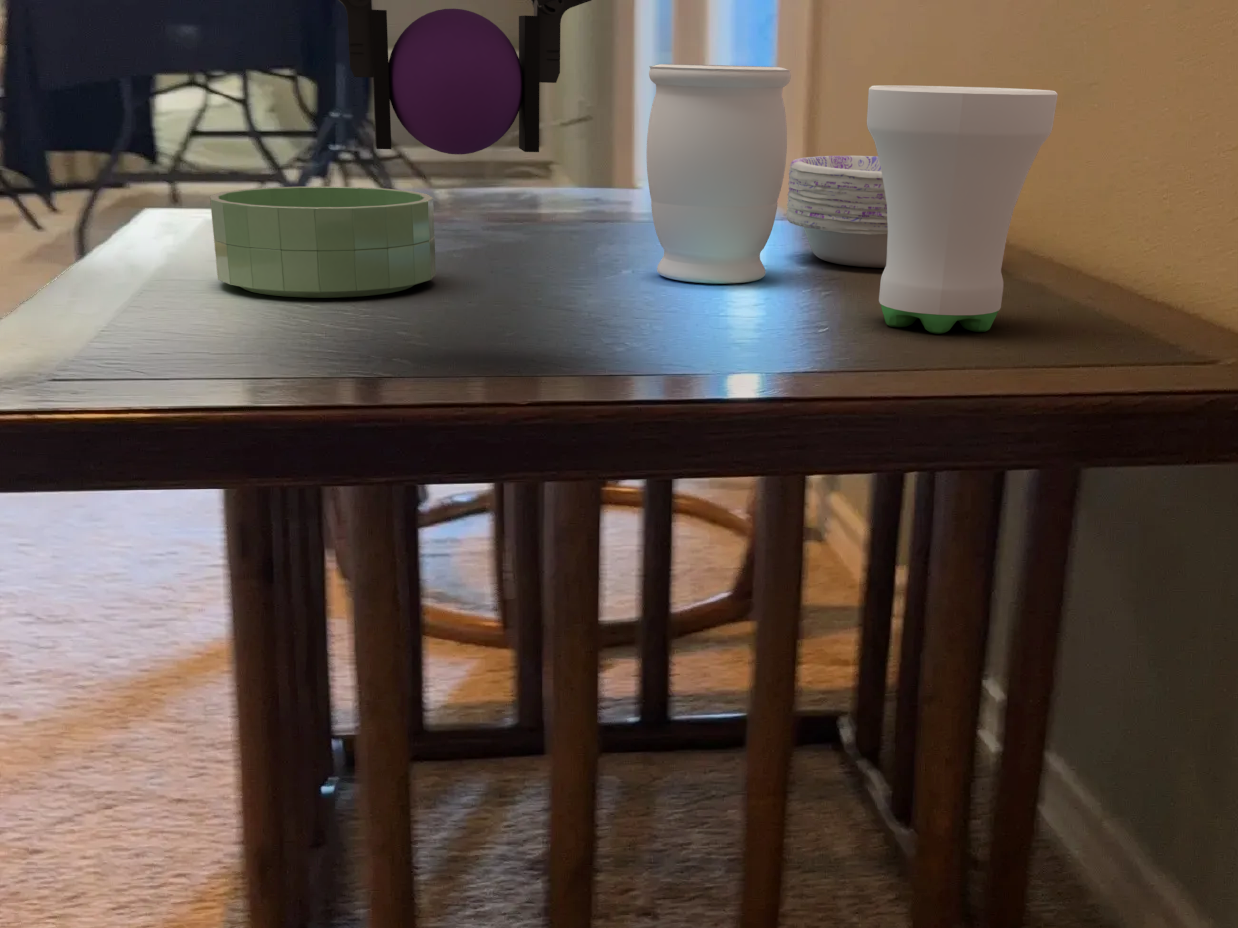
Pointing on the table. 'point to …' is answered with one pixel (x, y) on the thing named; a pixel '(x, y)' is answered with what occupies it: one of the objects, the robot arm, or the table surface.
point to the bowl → (323, 240)
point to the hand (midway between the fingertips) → (456, 147)
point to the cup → (951, 195)
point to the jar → (715, 168)
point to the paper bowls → (840, 208)
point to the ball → (455, 81)
